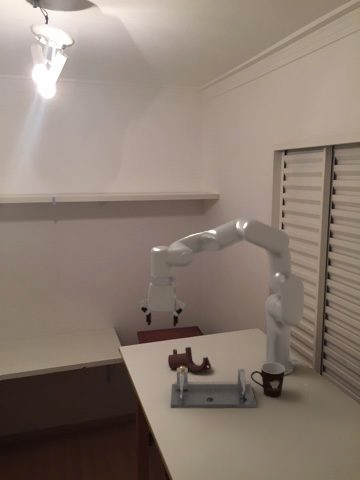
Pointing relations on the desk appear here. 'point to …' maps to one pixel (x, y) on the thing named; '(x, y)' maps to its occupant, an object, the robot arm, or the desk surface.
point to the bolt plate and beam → (215, 394)
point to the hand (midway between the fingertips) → (162, 324)
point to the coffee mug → (271, 378)
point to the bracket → (187, 361)
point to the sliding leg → (182, 379)
